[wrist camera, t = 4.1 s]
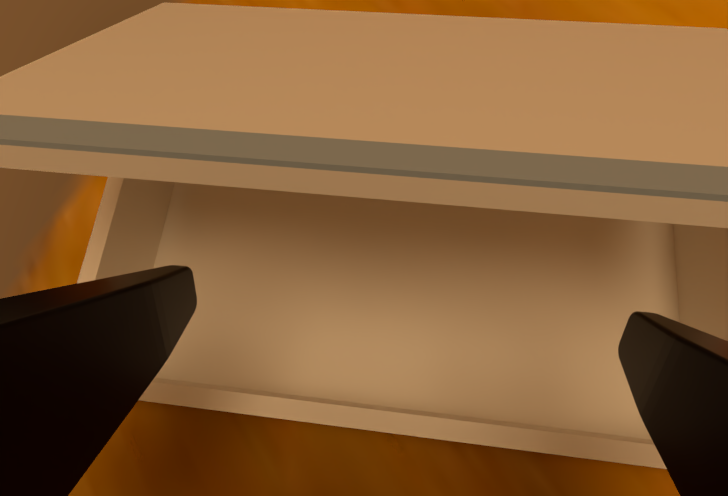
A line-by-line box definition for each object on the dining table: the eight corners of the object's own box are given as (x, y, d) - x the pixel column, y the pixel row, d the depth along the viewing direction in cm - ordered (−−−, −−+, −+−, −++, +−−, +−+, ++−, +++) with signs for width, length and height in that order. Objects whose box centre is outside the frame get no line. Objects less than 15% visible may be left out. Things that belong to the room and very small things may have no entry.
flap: (1069, 256, 7) (1109, 225, 7) (-112, 157, 9) (-133, 128, 9) (718, 43, 17) (727, 24, 16) (166, 16, 19) (162, -1, 18)
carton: (697, 462, 17) (787, 484, 13) (117, 388, 19) (46, 388, 15) (671, 118, 21) (734, 57, 17) (192, 88, 23) (152, 27, 19)
